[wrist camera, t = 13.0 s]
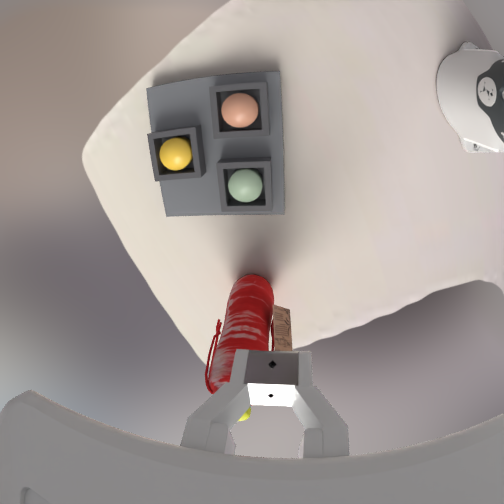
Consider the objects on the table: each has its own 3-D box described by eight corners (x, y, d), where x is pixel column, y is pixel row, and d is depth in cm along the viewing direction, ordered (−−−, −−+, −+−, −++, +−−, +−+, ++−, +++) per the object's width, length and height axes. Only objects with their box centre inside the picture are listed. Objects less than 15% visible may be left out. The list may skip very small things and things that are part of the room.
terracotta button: (258, 92, 30) (256, 92, 28) (260, 124, 32) (258, 126, 30) (223, 94, 30) (220, 94, 29) (226, 126, 33) (222, 128, 31)
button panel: (279, 72, 30) (279, 69, 26) (284, 208, 40) (284, 222, 37) (152, 88, 32) (137, 88, 28) (171, 211, 43) (160, 223, 39)
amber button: (193, 134, 33) (188, 136, 32) (196, 165, 36) (192, 168, 34) (163, 138, 34) (157, 141, 32) (167, 167, 36) (162, 171, 35)
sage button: (262, 166, 35) (261, 169, 33) (263, 196, 37) (262, 202, 36) (229, 167, 36) (226, 171, 34) (232, 197, 38) (229, 202, 36)
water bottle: (299, 273, 46) (300, 410, 25) (291, 306, 51) (287, 433, 30) (229, 264, 47) (189, 396, 26) (227, 298, 51) (196, 420, 30)
